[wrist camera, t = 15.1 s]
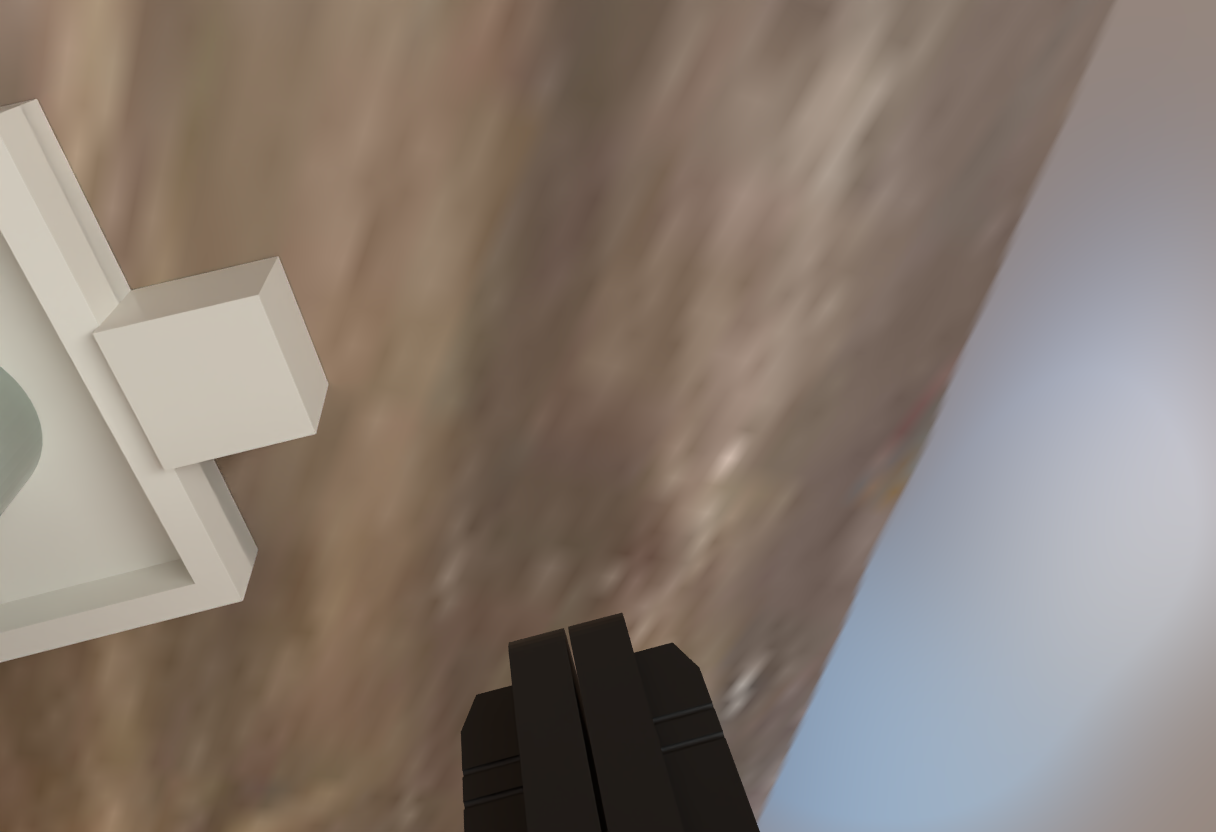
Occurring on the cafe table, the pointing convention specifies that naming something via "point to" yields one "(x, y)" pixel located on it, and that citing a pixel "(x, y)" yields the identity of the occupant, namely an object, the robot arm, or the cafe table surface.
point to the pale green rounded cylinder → (16, 439)
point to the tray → (130, 412)
